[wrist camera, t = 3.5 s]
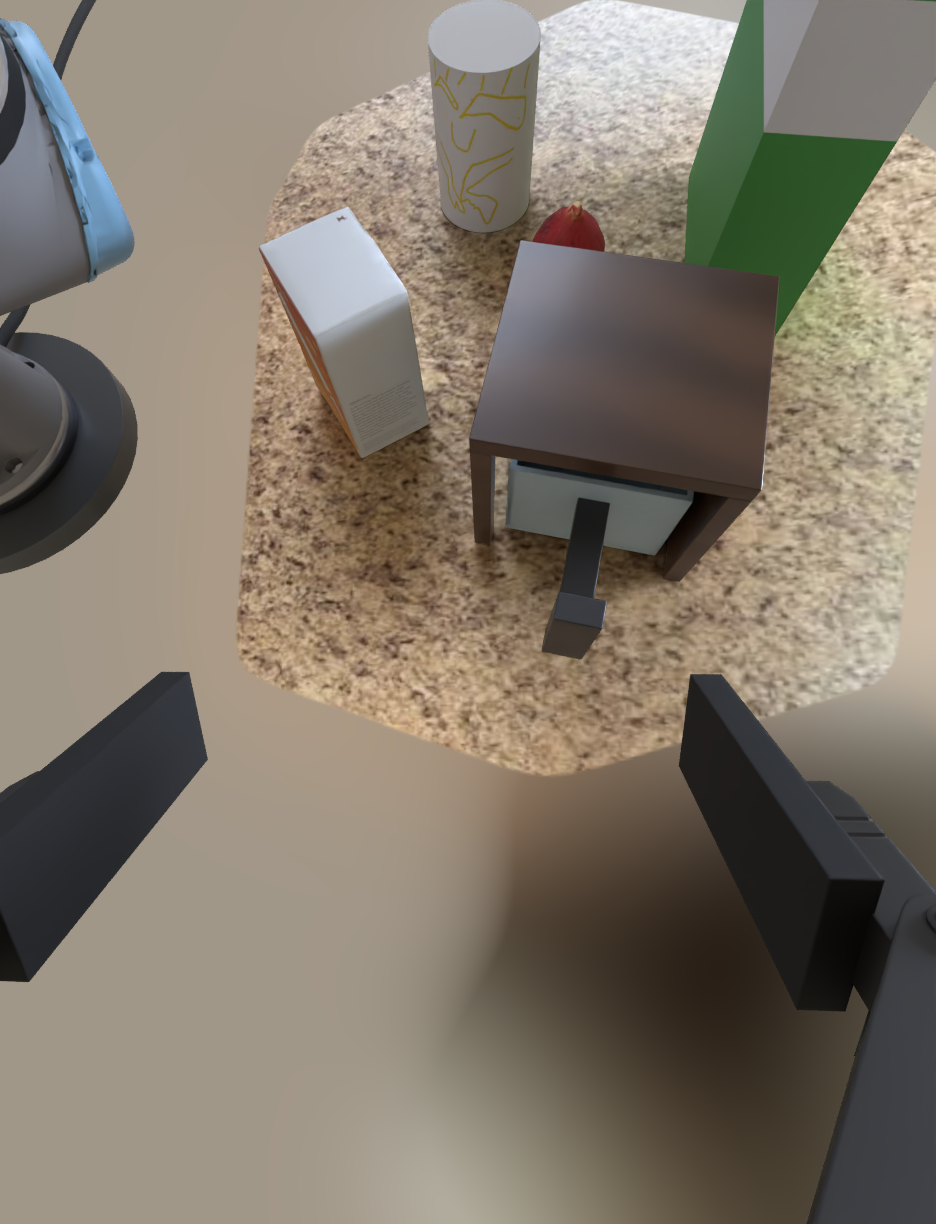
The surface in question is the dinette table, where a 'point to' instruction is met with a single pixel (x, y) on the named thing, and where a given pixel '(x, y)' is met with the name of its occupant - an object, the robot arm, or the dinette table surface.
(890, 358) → the dinette table surface
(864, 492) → the dinette table surface
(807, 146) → the green and white box
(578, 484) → the drawer
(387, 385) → the small box
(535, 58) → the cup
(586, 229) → the onion
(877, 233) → the dinette table surface
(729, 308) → the cabinet
